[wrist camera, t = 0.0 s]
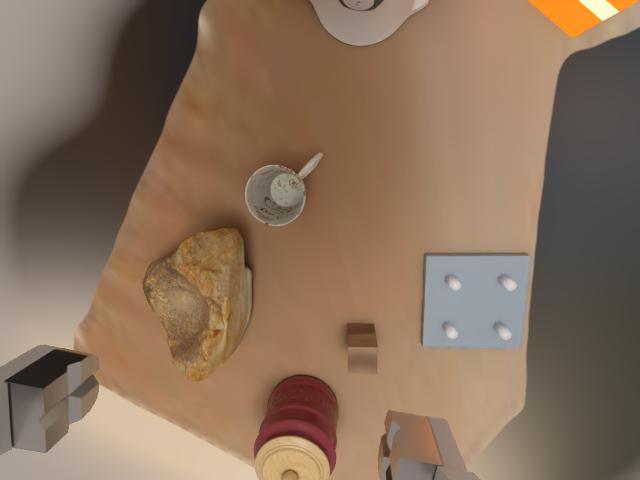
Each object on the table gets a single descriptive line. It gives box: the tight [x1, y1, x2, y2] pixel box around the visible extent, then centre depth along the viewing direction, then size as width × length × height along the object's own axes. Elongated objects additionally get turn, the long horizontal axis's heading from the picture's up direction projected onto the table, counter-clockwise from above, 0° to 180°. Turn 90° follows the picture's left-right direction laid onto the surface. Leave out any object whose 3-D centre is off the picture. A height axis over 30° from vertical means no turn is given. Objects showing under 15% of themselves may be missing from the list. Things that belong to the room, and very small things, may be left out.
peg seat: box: [421, 253, 531, 348], centre depth 56 cm, size 16×16×4 cm
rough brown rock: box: [143, 228, 252, 381], centre depth 54 cm, size 23×17×15 cm
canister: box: [254, 376, 338, 480], centre depth 56 cm, size 13×13×18 cm
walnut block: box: [348, 323, 377, 374], centre depth 57 cm, size 4×4×8 cm
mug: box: [245, 153, 323, 226], centre depth 51 cm, size 8×13×10 cm, turn 136°
